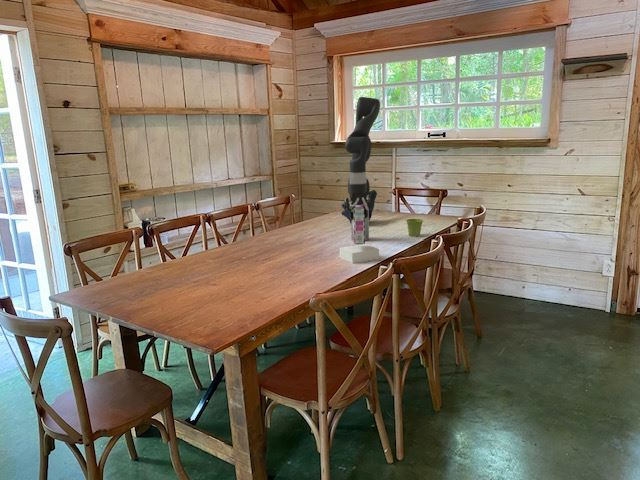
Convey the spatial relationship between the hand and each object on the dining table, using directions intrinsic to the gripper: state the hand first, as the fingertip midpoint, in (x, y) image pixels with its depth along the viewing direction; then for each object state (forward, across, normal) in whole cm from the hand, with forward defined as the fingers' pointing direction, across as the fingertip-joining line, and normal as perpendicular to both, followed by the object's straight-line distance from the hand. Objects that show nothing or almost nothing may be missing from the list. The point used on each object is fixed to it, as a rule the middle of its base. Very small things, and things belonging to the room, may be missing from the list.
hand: (358, 218), depth 215 cm
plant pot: (+19, -50, -25) cm, 59 cm away
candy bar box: (+11, 0, 0) cm, 11 cm away
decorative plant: (+19, -44, -76) cm, 90 cm away
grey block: (+19, 0, 0) cm, 19 cm away
